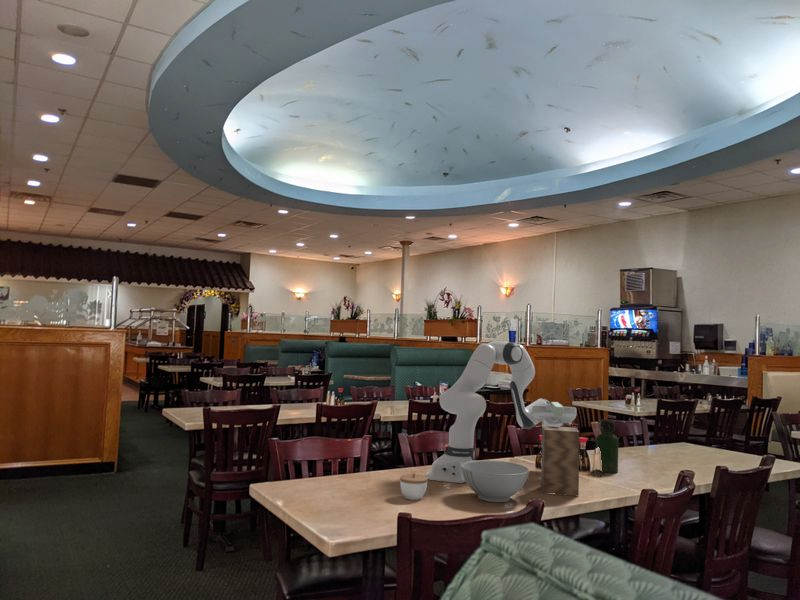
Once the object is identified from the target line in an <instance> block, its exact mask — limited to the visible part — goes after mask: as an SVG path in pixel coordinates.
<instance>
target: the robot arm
mask: <svg viewBox="0 0 800 600" xmlns="http://www.w3.org/2000/svg"><path fill="white" fill-rule="evenodd" d="M495 364H498V365H504V366H505V365H508V367H509V368H510V369H509V370H510V372H511V380H510V383H509V389H510V393H511V398H512V402H513V405H514V411H515V418H516V421H517V424H518V425H519V427H521V429H523V430H524V429H525V430H531V429H533V427H535V426H536V425H537V424H539V423H541V427H542V426H553V427H563V426H565V425H567V426H568V425H573V421H575V419H576V417H577V414H578V413H577V412H578V411H577V407H574V406H563V403H562V404H561V403H559V404H560V405H561V406H562V407H563V416H555V415H554V413H553V412H552V411H551V408H552V404H551V401H549V400H547V399H546V398H538V399H536V400H535V401H533V402H532V403H531V404H528V405H527V406H525V402H524V399H523V394H524V391H525V390H526V388H527V387H528V386H529V385H530V383H531V382H533V379H534V378H535V375H536V368H535V366H534V363H533V360H532V358H531V356H530V355H529V353H528V351H527V350H526V348H525V346H524V345H522V344H519V343H516V342H513V341H510V342H509V341H504V340H490V341H486V342H484V343H481V344H479V345H478V346H477V347H476V348H475V350H474V351H473V353H472V354H471V356H470V358H469V359H468V362H467V365H466V366H465V368H464V370H463V372H462V374H461V375H460V377H459V378H458V379H457V380H456V382H455V383H454V384H453V385H451V387H449V388H447V390H445V391H443V393H442V392H441V395H440V397H439V405H440V407H441V409H442V410H444V411H445V412H448V413H449V414H453V415H456V418H455V421H454V423H453V424H452V425H450V427H449V428H448V429H449V430H448V445H447V444H445V445H444V446H443V454H442V455H441V456H440V457H439V456H438V458H436V459H435V460H434V461H433V463H432V464H431V468H430V471H428V472H426V474H425V477H427V478H428V480H431V481H439V482H447V483H453V484H454V483H456V484H463V483H466V481H465V479H464V477H463V474H462V470H461V464H463V463H465V462H469V461H475V454H476V453H475V451H476V450H475V447H474V442H475V441H474V440H475V429H476V426H477V422H478V421H479V419H480V417H481V416H482V415H483V414H484V413H485V411H486V409H487V402H486V399H485V398H484V396H482V395H481V394H478V393H476V392H477V391H478V390H480V389H481V388H483V387H484V386H485V384H486V382H487V380H488V378H489V375H490V374H491V371H492V369H493V367H494V365H495Z"/></svg>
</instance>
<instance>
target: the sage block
mask: <svg viewBox="0 0 800 600" xmlns="http://www.w3.org/2000/svg"><path fill="white" fill-rule="evenodd" d="M550 403H551V404H552V408H551V411H552V412H553V413H554V415H555V416H563V407H564V406H563V405H562V406H563V407H562V406H561V405H560V404H561V403H559V401H550Z"/></svg>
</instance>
